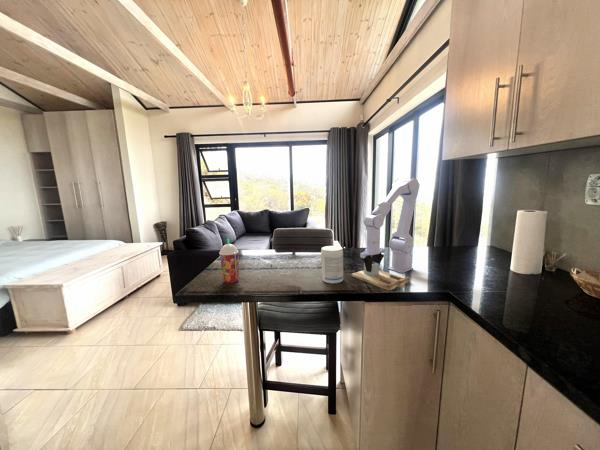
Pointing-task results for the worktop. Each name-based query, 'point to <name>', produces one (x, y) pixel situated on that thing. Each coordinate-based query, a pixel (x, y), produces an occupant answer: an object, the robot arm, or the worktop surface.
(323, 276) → the supplement tub
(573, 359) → the worktop surface
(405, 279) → the wall board
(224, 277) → the smoothie
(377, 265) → the cabinet block
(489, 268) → the worktop surface
